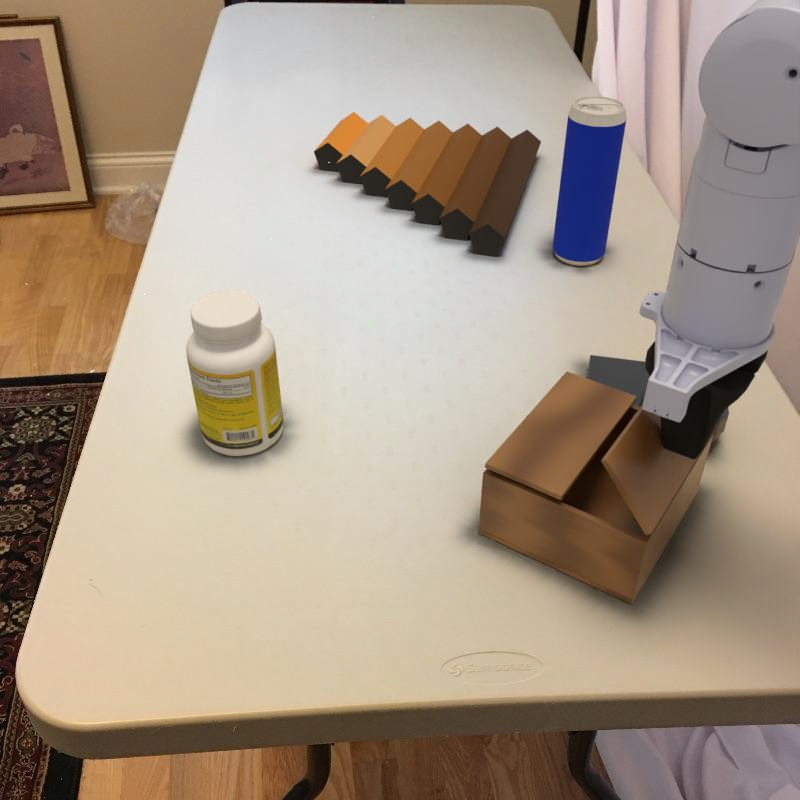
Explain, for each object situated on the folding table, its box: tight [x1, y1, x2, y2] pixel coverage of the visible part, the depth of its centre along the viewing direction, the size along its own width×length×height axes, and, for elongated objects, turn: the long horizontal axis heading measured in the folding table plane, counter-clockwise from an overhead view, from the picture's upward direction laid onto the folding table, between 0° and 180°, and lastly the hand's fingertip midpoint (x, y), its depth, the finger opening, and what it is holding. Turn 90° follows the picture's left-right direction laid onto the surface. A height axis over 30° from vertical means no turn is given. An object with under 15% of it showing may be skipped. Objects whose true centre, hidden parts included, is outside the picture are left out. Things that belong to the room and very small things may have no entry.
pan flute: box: [313, 111, 542, 257], centre depth 100 cm, size 25×3×25 cm
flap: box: [601, 404, 717, 535], centre depth 55 cm, size 5×12×1 cm
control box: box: [586, 354, 730, 443], centre depth 69 cm, size 10×10×3 cm
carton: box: [478, 370, 713, 605], centre depth 60 cm, size 11×12×6 cm
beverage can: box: [552, 95, 627, 267], centre depth 85 cm, size 5×5×15 cm
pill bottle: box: [185, 289, 284, 457], centre depth 65 cm, size 6×6×11 cm
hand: (682, 447), depth 54 cm, fingers closed
